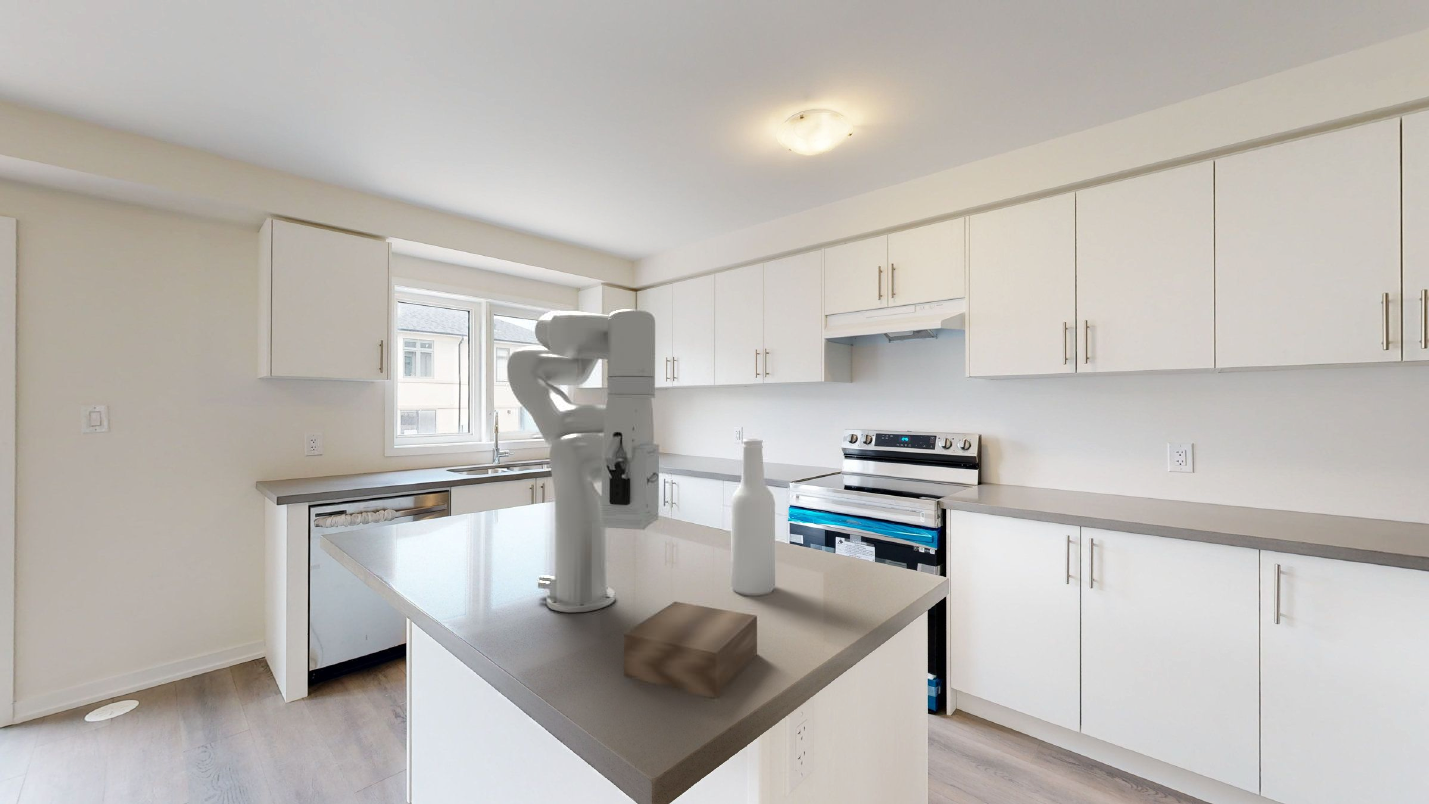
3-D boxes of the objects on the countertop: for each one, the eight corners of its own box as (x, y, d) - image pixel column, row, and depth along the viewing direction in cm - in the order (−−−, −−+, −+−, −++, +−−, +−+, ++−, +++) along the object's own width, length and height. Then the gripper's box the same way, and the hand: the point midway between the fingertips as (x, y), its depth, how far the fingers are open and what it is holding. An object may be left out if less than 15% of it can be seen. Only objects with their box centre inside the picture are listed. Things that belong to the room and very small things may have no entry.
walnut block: (623, 677, 76) (623, 633, 76) (675, 639, 89) (674, 601, 89) (716, 701, 70) (716, 653, 70) (757, 656, 83) (756, 615, 83)
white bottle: (746, 579, 118) (745, 437, 118) (783, 587, 113) (782, 439, 113) (722, 591, 111) (722, 439, 111) (761, 599, 106) (760, 441, 106)
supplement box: (645, 530, 85) (645, 447, 84) (599, 528, 86) (600, 446, 86) (660, 520, 92) (660, 443, 92) (617, 517, 93) (617, 442, 93)
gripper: (631, 389, 98) (631, 490, 98) (583, 387, 81) (582, 508, 81) (671, 390, 96) (671, 492, 96) (631, 387, 79) (630, 511, 79)
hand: (630, 499), depth 89 cm, fingers closed on supplement box, 7 cm apart
